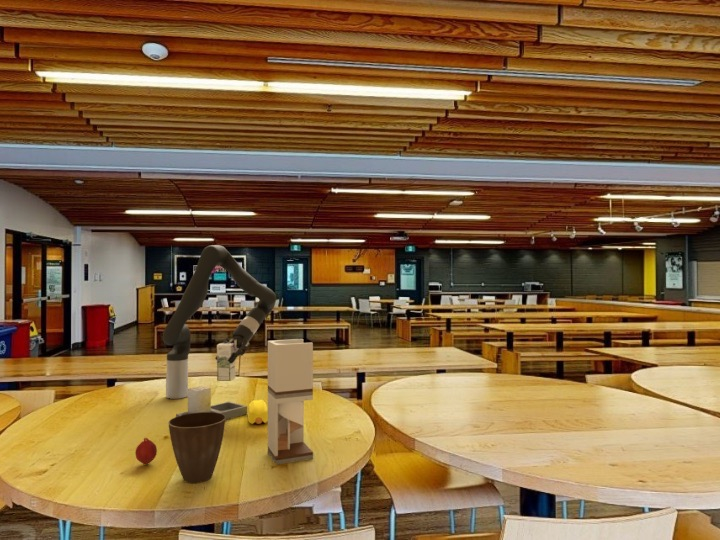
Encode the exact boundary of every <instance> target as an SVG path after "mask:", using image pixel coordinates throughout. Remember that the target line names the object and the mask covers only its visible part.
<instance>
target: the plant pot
mask: <svg viewBox="0 0 720 540" xmlns="http://www.w3.org/2000/svg"><path fill="white" fill-rule="evenodd" d="M225 419H226V417H225V415H223V414H221V413H216V412H198V413H190V414H185V415H180V416H177V417H176V416H175V417H172V418H171V419H169V420H168V423H167V424H168V430H169V436H170V441H171V446H172V451H173V455H174V457H175V458H174V459H175V461H176V463H177V467H178V469H179V473H180V474H181V477H182V479H183V481H184V482H185V481H186V482H185V483H188V482H190V484H197V483H198V482H199V483H204V482H206V481H208V480H210V479H211V478H212V477H213V474H214V472H215V469H216V466H217V463H218V460H219V455H220V452H221V448H222V443H223V439H224V432H225V426H226V420H225Z"/></svg>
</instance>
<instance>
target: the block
mask: <svg viewBox="0 0 720 540" xmlns="http://www.w3.org/2000/svg"><path fill="white" fill-rule="evenodd" d="M211 391H212V389H211V387H208V386H203V385H200V386H195V387H191V388H189V387H188V396H187V412H188V414H190V413H198V412H211V406H212V397H211V395H212V392H211Z"/></svg>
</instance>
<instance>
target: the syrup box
mask: <svg viewBox="0 0 720 540" xmlns="http://www.w3.org/2000/svg"><path fill="white" fill-rule="evenodd" d="M233 353H234V343H223V342H220V343H218V344H216V356H217V360H216V380H217V382H218V381H219V382H231V381H233V380H235V379H236V360H235V361H234V362H233V363H232V364H231V363H229V362H228V359H229V358H230V356H231V355H232V354H233Z"/></svg>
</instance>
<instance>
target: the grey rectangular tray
mask: <svg viewBox="0 0 720 540" xmlns="http://www.w3.org/2000/svg"><path fill="white" fill-rule="evenodd" d="M211 412H216V413H221V414H223V415H225V417H226V419H225V421H226V420H231V419H234V418H237V416H238V417H240V416H245V415H248V406H247V405H244V404H240V403H237V402H233V401H225V402H221V403H217V404H211ZM185 414H188V411H184V412H180V413H176V414H175V417H177V416H180V415H185ZM233 417H234V418H233Z"/></svg>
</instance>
